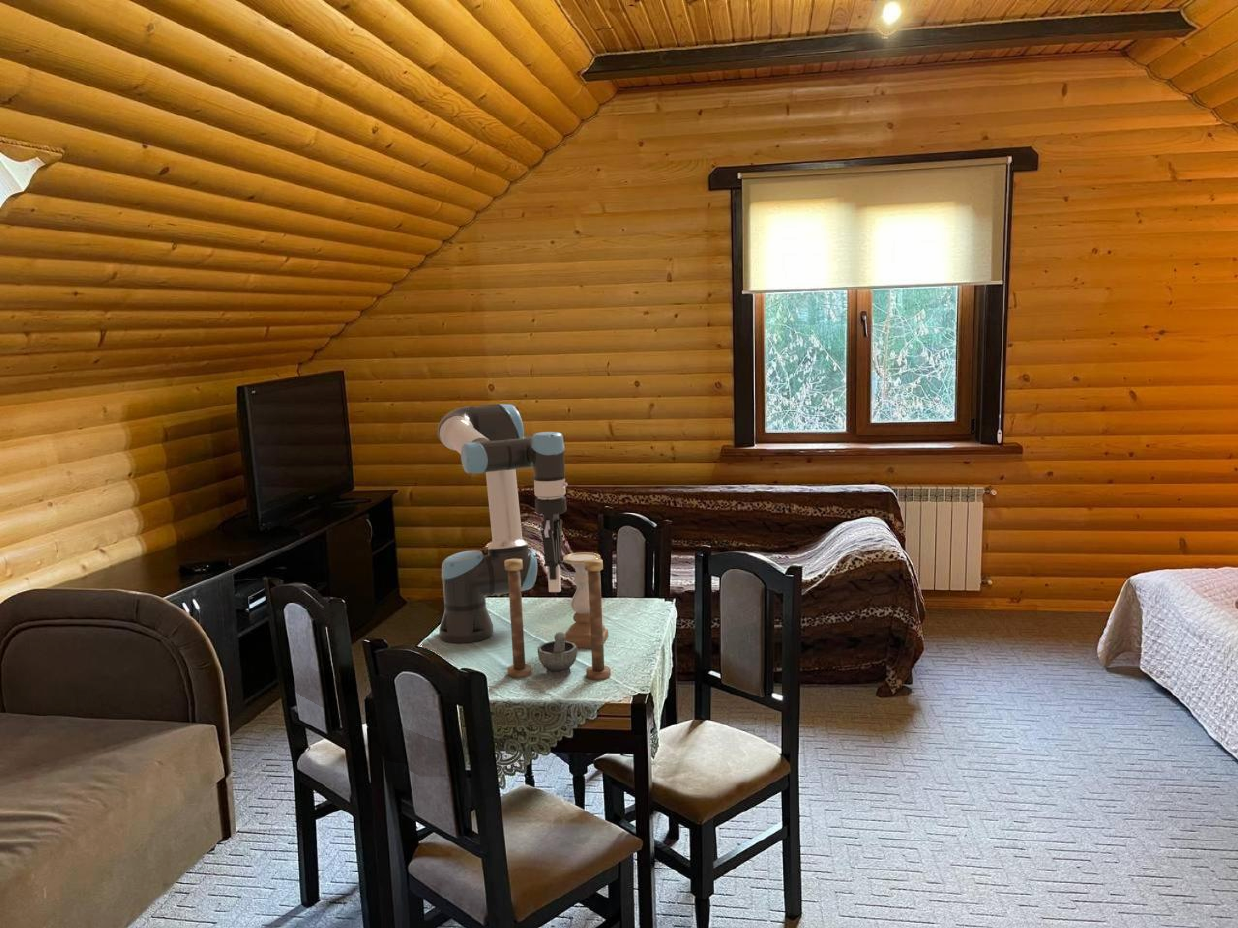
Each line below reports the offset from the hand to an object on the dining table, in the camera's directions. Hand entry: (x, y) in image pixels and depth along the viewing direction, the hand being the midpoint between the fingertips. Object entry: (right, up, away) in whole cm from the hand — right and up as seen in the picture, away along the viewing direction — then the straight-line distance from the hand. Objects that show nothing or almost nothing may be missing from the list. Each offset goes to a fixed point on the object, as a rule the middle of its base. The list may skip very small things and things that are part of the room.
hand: (554, 591), depth 229 cm
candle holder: (+6, -18, +27) cm, 33 cm away
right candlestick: (+11, -21, +2) cm, 24 cm away
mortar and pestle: (+1, -21, +3) cm, 22 cm away
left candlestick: (-9, -21, +5) cm, 24 cm away
